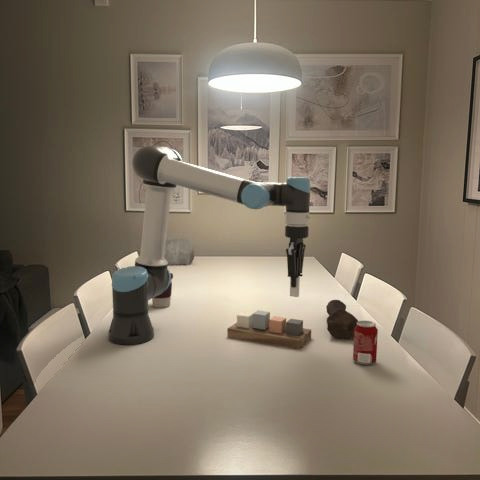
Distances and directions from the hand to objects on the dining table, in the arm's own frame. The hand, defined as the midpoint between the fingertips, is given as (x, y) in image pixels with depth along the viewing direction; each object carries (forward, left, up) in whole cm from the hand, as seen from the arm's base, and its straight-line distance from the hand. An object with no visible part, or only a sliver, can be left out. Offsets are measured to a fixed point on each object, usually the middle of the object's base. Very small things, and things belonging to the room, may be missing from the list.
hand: (294, 296), depth 161 cm
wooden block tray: (0, +9, -16) cm, 18 cm away
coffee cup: (+16, +64, -16) cm, 68 cm away
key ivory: (0, +18, -14) cm, 22 cm away
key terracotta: (0, +6, -14) cm, 15 cm away
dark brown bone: (+21, -10, -16) cm, 28 cm away
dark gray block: (0, 0, -14) cm, 14 cm away
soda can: (-7, -25, -16) cm, 30 cm away
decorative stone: (+96, +107, -16) cm, 145 cm away
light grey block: (0, +12, -12) cm, 17 cm away
